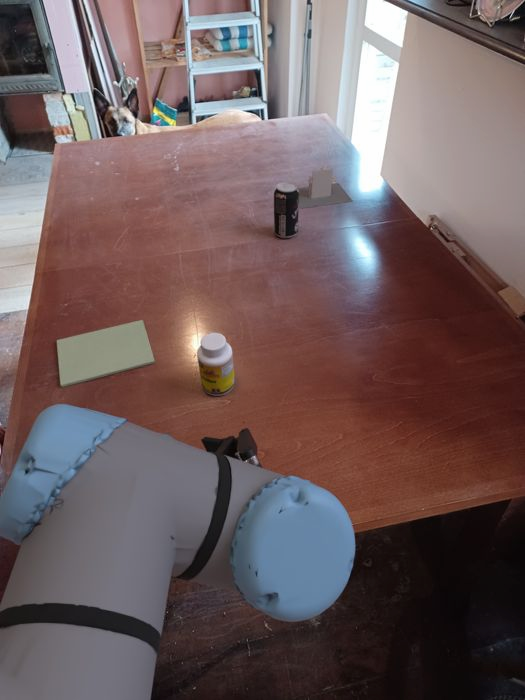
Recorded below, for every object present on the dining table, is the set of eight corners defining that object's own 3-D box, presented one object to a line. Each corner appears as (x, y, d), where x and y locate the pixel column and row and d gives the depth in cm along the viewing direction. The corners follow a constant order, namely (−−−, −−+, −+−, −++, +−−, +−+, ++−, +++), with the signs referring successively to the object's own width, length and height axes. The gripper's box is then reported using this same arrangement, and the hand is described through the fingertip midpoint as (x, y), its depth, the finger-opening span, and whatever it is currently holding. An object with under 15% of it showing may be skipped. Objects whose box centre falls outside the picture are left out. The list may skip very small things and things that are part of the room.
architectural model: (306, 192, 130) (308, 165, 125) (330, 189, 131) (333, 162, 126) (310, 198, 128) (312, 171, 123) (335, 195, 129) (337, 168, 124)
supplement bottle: (195, 385, 80) (187, 341, 73) (219, 368, 83) (214, 323, 76) (217, 403, 77) (211, 359, 70) (242, 384, 80) (238, 340, 73)
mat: (61, 387, 80) (60, 385, 80) (57, 342, 89) (56, 340, 88) (155, 363, 84) (154, 360, 84) (143, 321, 92) (142, 319, 92)
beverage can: (293, 226, 117) (294, 179, 109) (300, 237, 113) (303, 190, 105) (271, 229, 116) (270, 182, 108) (277, 241, 112) (278, 193, 104)
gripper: (97, 648, 35) (78, 564, 54) (345, 465, 45) (255, 450, 64) (48, 559, 34) (47, 506, 53) (311, 395, 45) (231, 400, 64)
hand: (161, 475), depth 59 cm, fingers open, 13 cm apart
